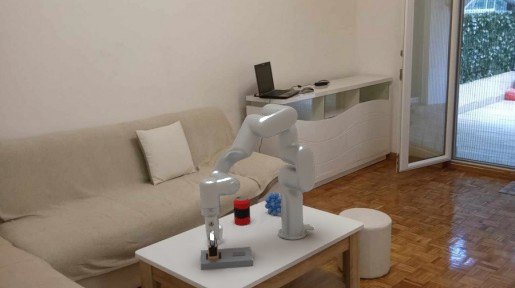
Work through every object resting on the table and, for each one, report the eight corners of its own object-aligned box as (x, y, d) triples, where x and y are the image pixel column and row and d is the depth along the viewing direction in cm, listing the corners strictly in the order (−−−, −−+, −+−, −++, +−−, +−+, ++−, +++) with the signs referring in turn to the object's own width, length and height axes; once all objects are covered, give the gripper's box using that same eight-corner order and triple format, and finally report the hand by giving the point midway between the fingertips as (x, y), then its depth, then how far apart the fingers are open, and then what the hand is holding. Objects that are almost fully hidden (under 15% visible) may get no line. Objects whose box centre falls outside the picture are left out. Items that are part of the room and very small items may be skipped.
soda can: (241, 218, 241) (239, 194, 239) (253, 221, 237) (252, 197, 234) (231, 223, 235) (230, 199, 233) (243, 226, 231) (242, 202, 228)
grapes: (289, 215, 243) (289, 191, 241) (281, 219, 238) (280, 195, 236) (270, 210, 251) (270, 187, 248) (262, 214, 246) (261, 191, 243)
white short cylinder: (226, 239, 218) (225, 224, 216) (219, 246, 211) (219, 230, 210) (211, 237, 220) (210, 223, 218) (205, 244, 214) (204, 229, 212)
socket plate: (250, 252, 204) (250, 246, 204) (252, 265, 193) (252, 259, 192) (201, 256, 203) (201, 250, 202) (201, 269, 191) (200, 263, 190)
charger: (218, 259, 199) (217, 240, 197) (218, 263, 195) (217, 244, 194) (208, 260, 199) (207, 241, 197) (208, 264, 195) (207, 245, 193)
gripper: (221, 217, 184) (223, 259, 188) (219, 201, 201) (222, 240, 205) (200, 218, 183) (203, 261, 187) (201, 202, 200) (203, 242, 204)
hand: (213, 250), depth 196 cm, fingers open, 9 cm apart
